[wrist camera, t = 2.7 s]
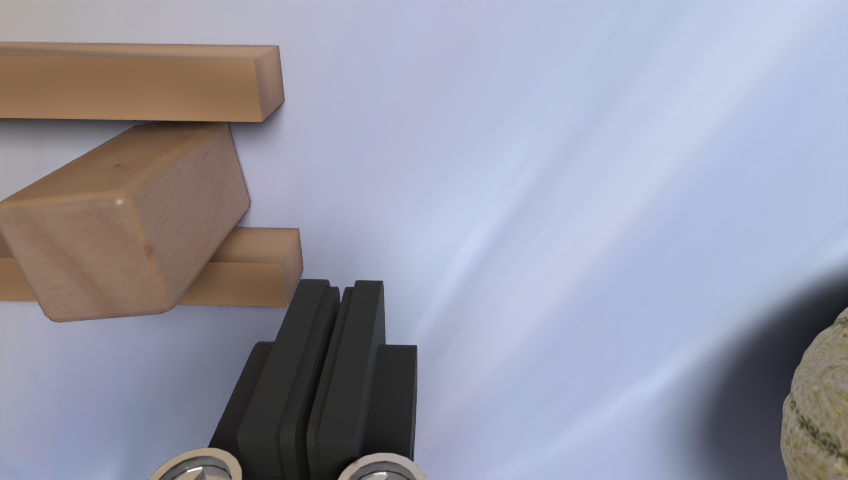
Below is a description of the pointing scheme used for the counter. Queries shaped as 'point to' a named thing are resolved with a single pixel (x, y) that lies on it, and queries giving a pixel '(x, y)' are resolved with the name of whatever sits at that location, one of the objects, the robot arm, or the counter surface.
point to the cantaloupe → (819, 409)
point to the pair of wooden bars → (161, 100)
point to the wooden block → (127, 221)
